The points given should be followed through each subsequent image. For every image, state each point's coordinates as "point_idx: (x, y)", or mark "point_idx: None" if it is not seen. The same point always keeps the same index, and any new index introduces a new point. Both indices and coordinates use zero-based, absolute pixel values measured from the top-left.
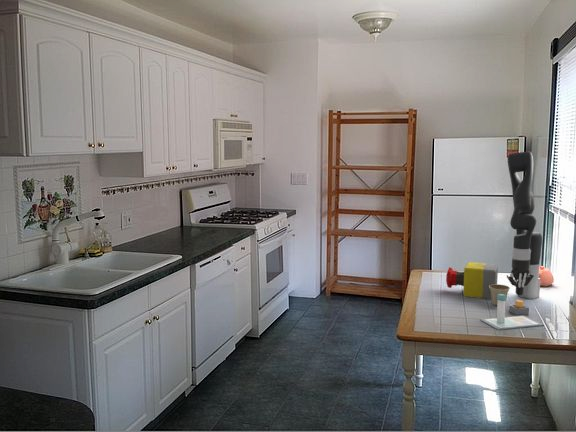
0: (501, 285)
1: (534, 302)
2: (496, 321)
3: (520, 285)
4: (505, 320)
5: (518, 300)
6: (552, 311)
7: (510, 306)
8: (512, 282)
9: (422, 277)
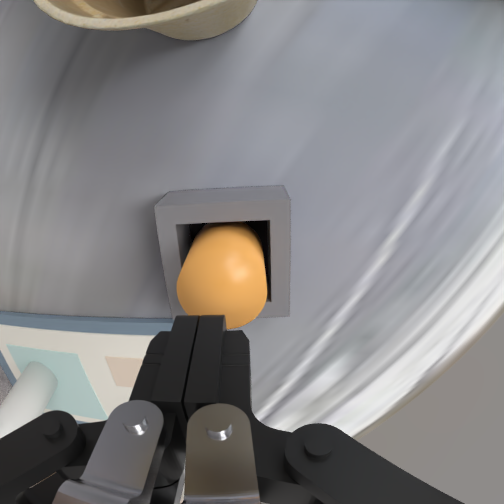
0: None
1: (496, 59)
2: (27, 364)
3: (176, 489)
4: (66, 369)
5: (225, 268)
6: (469, 263)
7: (158, 222)
8: (21, 498)
9: None
